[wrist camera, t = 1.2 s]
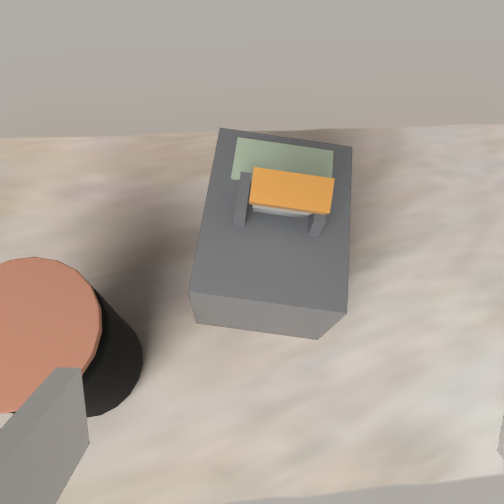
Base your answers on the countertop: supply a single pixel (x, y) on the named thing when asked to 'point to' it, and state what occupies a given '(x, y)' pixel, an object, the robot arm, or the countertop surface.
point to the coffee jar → (61, 336)
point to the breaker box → (272, 242)
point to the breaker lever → (290, 193)
